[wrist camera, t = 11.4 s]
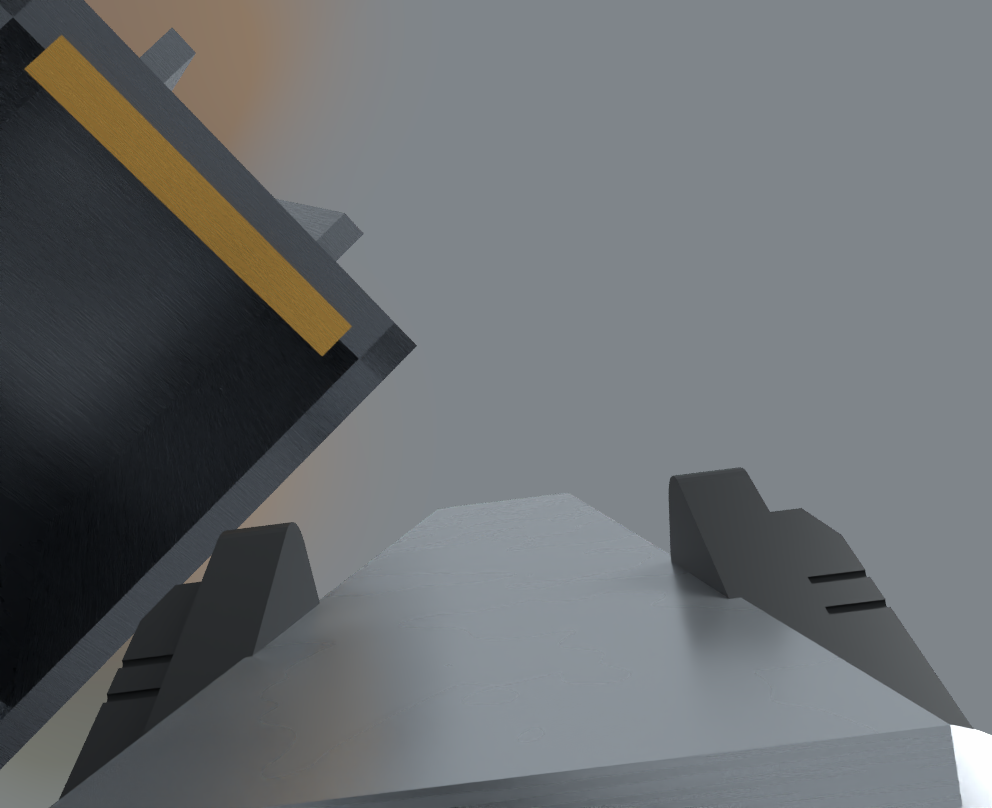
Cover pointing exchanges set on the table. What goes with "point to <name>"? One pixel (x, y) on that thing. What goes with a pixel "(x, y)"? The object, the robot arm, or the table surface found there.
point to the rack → (143, 345)
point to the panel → (535, 691)
